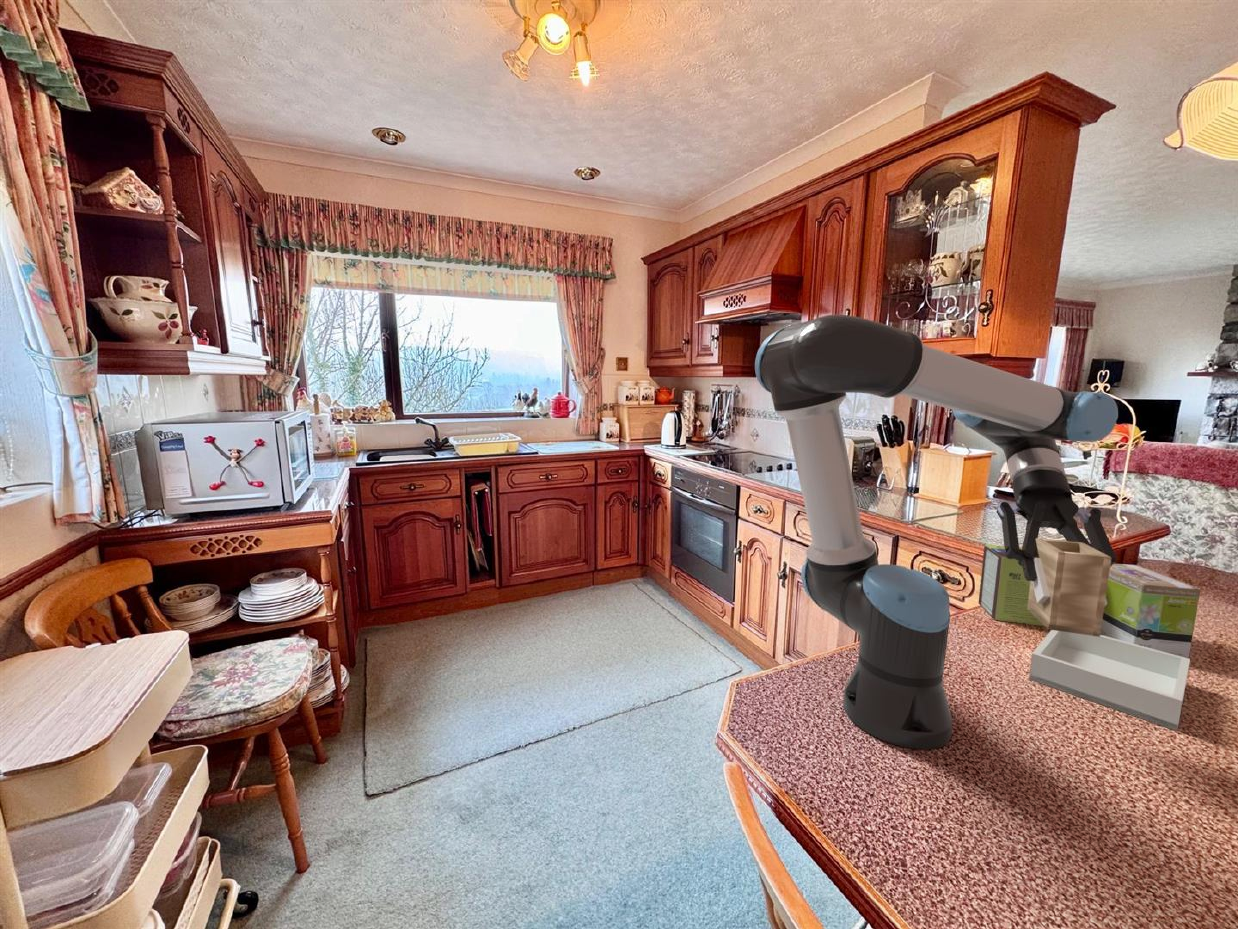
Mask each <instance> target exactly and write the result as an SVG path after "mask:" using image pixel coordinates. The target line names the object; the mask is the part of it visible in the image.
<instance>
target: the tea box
mask: <svg viewBox="0 0 1238 929" xmlns="http://www.w3.org/2000/svg"><path fill="white" fill-rule="evenodd" d="M1200 593H1201V588H1200V587H1197V586H1195V585H1192V584H1189V583H1187V582H1183V581H1181V580H1179V579H1175V578H1173V577H1171V576H1168V575H1165V574H1163V573H1160V572H1157V571H1155V570H1151V569H1149V568H1145V567H1143V566H1141V565H1138V564H1137V565H1136V564H1124V563H1123V564H1122V563H1114V564H1113V565H1112V566H1111V567H1110V571H1109V578H1108V585H1107V592H1106V600H1107V603H1108V604H1107V605H1106V606H1104V612H1103V619H1102V626H1101V633H1100V635H1103V636H1107V637H1111V638H1114V639H1118V640H1122V641H1126V642H1129V643H1133V644H1137V645H1140V646H1144V647H1148V648H1151V649H1155V650H1159V651H1162V652H1166V653H1170V654H1174V655H1177V656H1181V657H1185V658H1188V659H1189V656H1190V652H1191V647H1192V642H1193V636H1194V631H1195V624H1196V619H1197V613H1198V606H1199V601H1200Z"/></svg>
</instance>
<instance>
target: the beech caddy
mask: <svg viewBox="0 0 1238 929" xmlns="http://www.w3.org/2000/svg"><path fill="white" fill-rule="evenodd" d="M1034 558H1041V562H1042V566H1043V570H1044V574H1045V579H1046V583H1047V587H1048V591H1049V595H1050V597H1049V598H1048V599H1047V600H1046V601H1045V602H1044V603H1043V604H1040V603H1037V601H1036V596H1035V592H1034V588H1033V583H1032V581H1030V589H1029V598H1028V606H1027V609H1028V610H1029V611H1030V612H1031V613H1032V614H1033V615H1034V616H1035V617H1036V618H1037V619H1038V620H1039V621H1040V622H1041V623H1042V624H1043V625H1044V626H1043V627H1045V628H1046V629H1047V630H1050V631H1051V630H1056V631H1063V632H1070V633H1077V634H1084V635H1091V636H1098V637H1100V635H1101V626H1102V619H1103V612H1104V606H1105V599H1106V592H1107V585H1108V578H1109V571H1110V564H1111V557H1110V556H1108V555H1106V554H1104V553H1102V552H1100V551H1098V550H1096V549H1094V548H1092V547H1091V546H1089V545H1087V544H1085V543H1083V542H1071V541H1067V540H1058V539H1045V538H1039V537H1038V538H1036V548H1035V553H1034V557H1033V559H1034Z"/></svg>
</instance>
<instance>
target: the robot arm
mask: <svg viewBox="0 0 1238 929" xmlns="http://www.w3.org/2000/svg"><path fill="white" fill-rule="evenodd" d="M755 356H756V357H755V361H754V371H755V376H756V379H757V382H758V383H759V385H760V386H761V387H762V388H763V389H764V390H765V391H767V392H768V393H770V395H771V400H772V404H773V408H774V412H775V413H777V414H778V415H780V416H782V417H784V418H785V421H786V424H787V430H788V433H789V439H790V444H791V447H792V453H793V457H794V462H795V467H796V470H797V471H796V472H797V475H798V476H797V477H798V479H799V480H798V481H799V485H800V491H801V494H802V499H803V504H804V508H805V513H806V518H807V523H808V526H809V532H810V536H811V541H812V542H811V544H809V546H808V547H807V548H806V550H805V552H806V553H805V555H806V558H805V560H804V561H805V564H802V567H801V573H800V574H801V575H800V576H801V579H800V580H801V583H802V586H803V589H804V591H805V593H806V595H807V596H808V597H809V598H810V600H812V601H813V602H814V604H815V605H817V607H819V608H820V609H821V610H823V611H825V612H827V613H829V615H831V616H832V617H834V618H835V619H837V620H838V621H839V622H840V623H843V624H844V625H845V626H847V627H848V628H850V629H851V630H852V631H854V632H856V634H858V635H859V643H858V644H859V646H858V659H857V663H856V665H855V667H854V669H853V672H852V673H851V675H850V677H849V680H848V682H847V684H846V685H845V688H844V690H843V700H842V701H843V702H842V705H843V709H844V712H845V713H846V716H848V719H850V720H851V722H853V723H854V724H855V725H856V726H858V727H859V728H860V729H862V730H863V732H866V733H867V734H870V735H871V736H873V737H875V738H877V739H879V740H882V741H884V742H887V743H889V744H892V745H896V746H898V747H903V748H908V749H916V750H933V749H937V748H941V747H943V746H945V745H947V744H948V743H949V742H950V740H951V738H952V732H953V722H954V721H953V717H952V713H951V708H950V707H949V706H950V705H949V703H948V699H947V695H946V692H945V687H944V685H943V684H944V683H943V680H944V670H945V662H946V653H947V644H948V636H949V629H950V622H951V611H950V601H951V600H950V596H949V593H948V591H947V589H946V588H945V586H944V585H943V584H942V583H941V582H939V581H938V580H937V579H935V578H933V576H930V575H928V574H927V573H924V572H922V571H920V570H917V569H914V568H913V569H909V568H907V566H903V565H896V564H887V563H886V564H885V563H884V564H879V559H878V554H877V550H876V548H877V547H876V545H875V543H874V542H873V541H872V540H871V539H868V538H867V537H866V536H864V533H863V532H864V531H863V526H862V522H861V516H860V510H859V507H858V505H859V504H858V501H857V496H856V492H855V486H854V481H853V480H854V479H853V475H852V470H851V465H850V459H849V455H848V451H847V450H848V449H847V446H846V440H845V436H844V430H843V425H842V419H841V415H840V406H841V404H842V402H844V400H845V399H846V397H847V393H848V394H849V393H852V394H854V393H857V394H866V395H867V394H869V395H874V396H877V397H881V398H884V399H891V398H895V397H897V396H903V397H906V398H909V399H914V400H917V401H921V402H924V403H928V404H931V405H934V406H938V407H942V408H945V409H949V410H951V411H952V414H953V416H954V417H955V419H957V420H958V421H959V422H961V423H962V424H963V425H964V426H965V427H966V428H968V429H969V428H970V429H971V430H973V431H974V432H975V433H978V434H979V435H980V436H982V437H983V438H985V439H987V440H989V442H991V443H993V444H994V445H996V446H997V447H999V448H1001V450H1002V451H1003V452H1004V456H1005V460H1006V464H1007V465H1006V466H1007V470H1008V473H1009V477H1010V478H1009V479H1010V482H1011V488H1012V491H1013V496H1014V500H1015V502H1013V503H1009V502H1007V501H1002V502H1001V503H1000V504H999V505H998V507H997V509H996V514H997V516H998V518H999V519H1000V520H1001V527H1002V537H1003V538H1002V539H1003V546H1004V547H1005V556H1006V557H1007V558H1008V559H1016V560H1018V564H1019V565H1020V566H1022V568H1023V573H1024V577H1025V579H1026V580H1027V581H1032V583H1033V588H1034V592H1035V596H1036V601H1037V603H1040V604H1043V603H1044V602H1045V601H1046V600H1047V599H1048V598H1049V597H1050V595H1049V591H1048V587H1047V583H1046V579H1045V574H1044V570H1043V566H1042V562H1041V558H1034V559H1033V556H1034V553H1035V548H1036V538H1038V539H1039V533H1040V529H1041V528H1050V529H1053V530H1054V529H1055V530H1056V531H1057V533H1058V534H1059V535H1060V536H1063V538H1064V539H1065V541H1071V542H1083V543H1085V544H1087V545H1089V546H1091V547H1092V548H1094V549H1096V550H1098V551H1100V552H1102V553H1104V554H1106V555H1108V556H1110V557H1111V564H1110V567H1111V566H1112V565H1113V564H1116V562H1117V560H1118V558H1117V556H1116V554H1115V551H1114V549H1113V546H1112V545H1111V542H1110V540H1109V537H1108V535H1107V533H1106V531H1105V528H1104V526H1103V523H1102V521H1101V516H1102V511H1101V510H1100V509H1099V508H1097V507H1094V508H1092V509H1085V508H1081V507H1079V505H1078V504H1077V503H1076V502H1075V500H1073V495H1072V494H1073V493H1072V490H1071V488H1070V484H1069V480H1068V478H1067V476H1066V471H1065V467H1064V465H1063V462H1062V458H1061V455H1060V453H1059V450H1058V447H1057V443H1056V440H1057V441H1066V442H1068V441H1070V442H1071V443H1077V442H1084V443H1085V442H1089V443H1091V442H1093V443H1094V442H1098V441H1101V440H1103V439H1105V438H1107V436H1109V435H1110V434H1111V433H1112V432H1113V430H1114V429H1115V427H1116V423H1117V420H1118V419H1119V409H1118V405H1117V403H1116V401H1115V399H1113V397H1112V396H1110V395H1109V394H1107V393H1104V392H1093V391H1087V390H1086V391H1085V390H1084V391H1079V392H1078V391H1077V392H1076V391H1069V390H1066V389H1063V388H1059V387H1056V386H1053V385H1048V384H1046V383H1042V382H1039V381H1036V380H1034V379H1030V378H1026V377H1023V376H1021V375H1017V374H1014V373H1012V372H1011V373H1010V372H1009V371H1005V370H1002V369H999V368H995V367H993V366H990V365H987V364H983V363H980V362H977V361H975V360H971V359H968V358H965V357H962V356H959V355H956V354H953V353H949V352H947V351H943V350H941V349H937V348H934V347H931V346H928V345H924V341H923V340H922V338H921V337H920V336H919V335H917V334H916V333H913V332H909V331H907V330H904V329H901V328H897V327H895V326H892V325H889V324H886V323H885V324H884V323H882V322H878V321H875V320H872V319H867V318H863V317H858V316H855V315H854V316H853V315H847V314H828V315H823V316H820V317H816V318H814V319H810V320H807V321H803V322H800V323H796V324H789V325H787V326H785V327H782V328H780V329H779V330H778V329H777V330H776V331H774V332H773V333H771V334H770V335H769V336H767V337H766V338H765V339H764V341H763V342H762V343H761V345H760V347H759V348H758V350H757V353H756V355H755ZM1016 513H1018V514H1019V515H1020V516H1022V518H1024V519H1025V520H1026V521H1027V522H1026V526H1025V533H1024V538H1023V541H1022V546H1021V547H1022V550H1020V549H1019V547H1020V542H1019V535H1018V528H1017V527H1018V526H1017V520H1016ZM1075 516H1077V517H1078V519H1079V520H1080V524H1083V528H1084V531H1085V533H1086V536H1087V537H1086V536H1085V535H1084V533H1083V532H1082V530H1081V529H1080V528H1079V527H1078V522H1077V520H1076V519H1075V518H1074V517H1075ZM1107 604H1108V603H1107V600H1106V599H1105V606H1106V605H1107Z"/></svg>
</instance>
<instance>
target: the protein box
mask: <svg viewBox="0 0 1238 929" xmlns="http://www.w3.org/2000/svg"><path fill="white" fill-rule="evenodd" d="M1019 549H1020V550H1022V546H1019ZM982 556H983V557H982V566H981V575H980V586H979V594H978V604H979V606H981V608H982V609H983V610H984V611H985V612H986V613H987V614H988V615H989V616H990V617H991V618H992V619H994V621H1000V622H1006V623H1007V622H1008V623H1015V622H1017V623H1016V624H1023V623H1025V624H1026V625H1032V626H1041V627H1045V626H1044V625H1043V624H1042V623H1041V622H1040V621H1039V620H1038V619H1037V618H1036V617H1035V616H1034V615H1033V614H1032V613H1031V612H1030V611H1029V610H1028V609H1027V606H1028V598H1029V589H1030V581H1027V580H1026V579H1025V577H1024V573H1023V568H1022V566H1020V565H1019V564H1018V560H1016V559H1008V558H1007V557H1006V556H1005V547H1004V545H996V544H995V545H993V544H984V548H983V555H982ZM1033 557H1034V556H1033ZM1025 624H1024V625H1025Z"/></svg>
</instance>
